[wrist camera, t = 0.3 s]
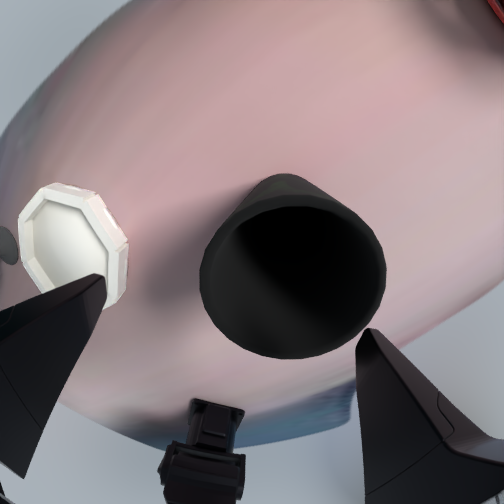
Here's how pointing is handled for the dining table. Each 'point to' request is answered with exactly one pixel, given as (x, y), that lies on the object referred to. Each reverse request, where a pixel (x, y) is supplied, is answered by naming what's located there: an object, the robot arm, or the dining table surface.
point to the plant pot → (498, 8)
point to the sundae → (8, 247)
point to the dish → (72, 240)
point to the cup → (292, 271)
